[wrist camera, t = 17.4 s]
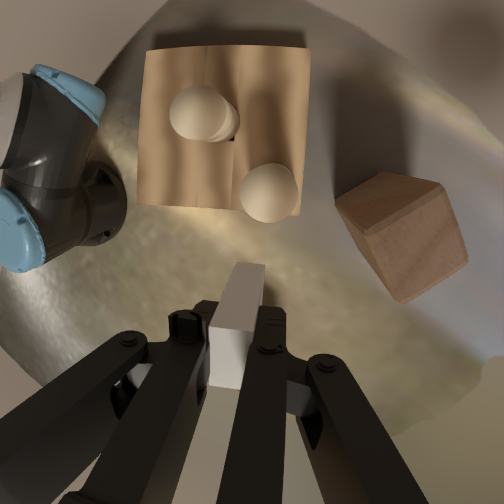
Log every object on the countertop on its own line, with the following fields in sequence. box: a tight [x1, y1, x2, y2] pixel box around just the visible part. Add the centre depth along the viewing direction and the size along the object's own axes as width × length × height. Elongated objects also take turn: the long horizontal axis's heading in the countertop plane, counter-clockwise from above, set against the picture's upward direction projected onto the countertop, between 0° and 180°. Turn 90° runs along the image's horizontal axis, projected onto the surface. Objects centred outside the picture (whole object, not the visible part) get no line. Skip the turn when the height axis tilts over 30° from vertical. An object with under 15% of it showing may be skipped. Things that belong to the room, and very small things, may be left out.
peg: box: [169, 85, 240, 144], centre depth 37 cm, size 6×6×16 cm
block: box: [335, 172, 468, 304], centre depth 37 cm, size 10×10×20 cm
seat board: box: [137, 45, 311, 223], centre depth 37 cm, size 24×24×16 cm
